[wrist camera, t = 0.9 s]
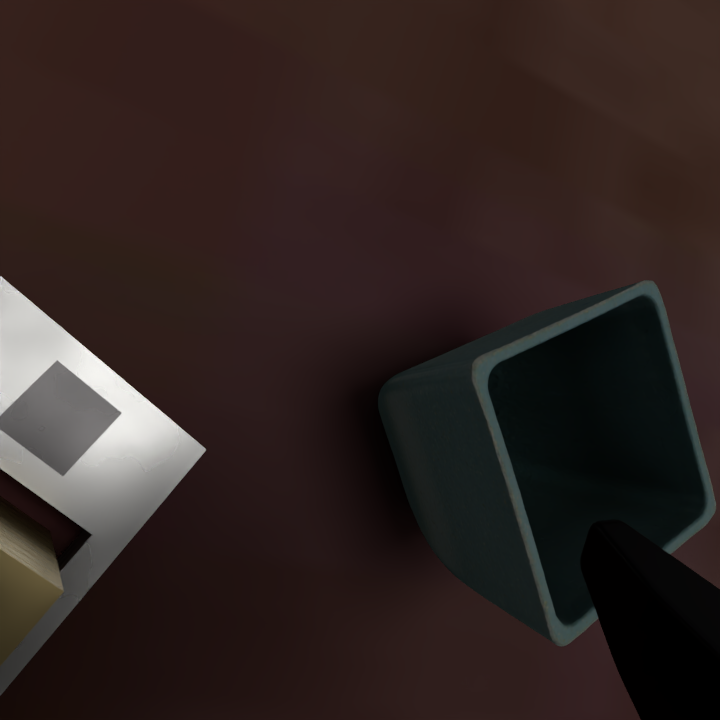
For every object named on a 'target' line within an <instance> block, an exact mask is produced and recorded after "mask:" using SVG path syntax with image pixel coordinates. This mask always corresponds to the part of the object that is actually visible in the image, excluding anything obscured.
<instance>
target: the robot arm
mask: <svg viewBox="0 0 720 720" xmlns="http://www.w3.org/2000/svg"><path fill="white" fill-rule="evenodd" d="M580 565H581V571H582V574H583V577H584V580H585V583H586V585H587V588H588V591H589V594H590V596H591V599H592V602H593V605H594V607H595V610H596V613H597V616H598V618H599V621H600V624H601V627H602V629H603V632H604V635H605V638H606V640H607V643H608V646H609V649H610V652H611V654H612V657H613V659H614V662H615V664H616V667H617V670H618V672H619V674H620V676H621V678H622V681H623V683H624V685H625V687H626V689H627V691H628V694H629V696H630V698H631V700H632V702H633V704H634V706H635V708H636V710H637V712H638V714H639V716H640V719H641V720H720V589H718V588H717V587H716V586H714V585H713V584H711V583H710V582H709V581H707V580H706V579H704V578H703V577H701V576H700V575H699V574H697V573H696V572H694V571H693V570H692V569H690V568H689V567H687V566H686V565H684V564H683V563H682V562H680V561H679V560H677V559H676V558H674V557H673V556H672V555H670V554H669V553H667V552H666V551H665V550H663V549H662V548H660V547H659V546H657V545H656V544H655V543H653V542H652V541H650V540H649V539H647V538H646V537H645V536H643V535H642V534H640V533H639V532H638V531H636V530H635V529H633V528H632V527H630V526H629V525H628V524H626V523H625V522H623V521H621V520H617V519H611V520H602V521H596V522H593V523H592V524H591V525H590V528H589V531H588V534H587V537H586V540H585V544H584V547H583V550H582V553H581V558H580Z"/></svg>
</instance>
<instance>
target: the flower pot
mask: <svg viewBox="0 0 720 720" xmlns="http://www.w3.org/2000/svg"><path fill="white" fill-rule="evenodd" d="M378 410H379V413H380V416H381V420H382V423H383V426H384V429H385V432H386V435H387V438H388V441H389V444H390V447H391V450H392V452H393V455H394V458H395V461H396V465H397V468H398V471H399V474H400V477H401V480H402V484H403V487H404V490H405V493H406V496H407V499H408V502H409V504H410V507H411V509H412V511H413V514H414V516H415V518H416V521H417V523H418V525H419V527H420V529H421V531H422V533H423V535H424V537H425V539H426V540H427V542H428V544H429V545H430V547H431V548H432V550H433V551H434V553H435V554H436V555H437V556H438V558H439V559H440V560H441V562H442V563H443V564H444V565H445V566H446V567H447V568H448V569H449V570H450V571H451V572H452V573H453V574H454V575H455V576H456V577H457V578H458V579H460V580H461V581H462V582H463V583H465V584H466V585H467V586H469V587H470V588H472V589H473V590H474V591H476V592H477V593H479V594H480V595H482V596H483V597H484V598H486V599H487V600H489V601H490V602H492V603H493V604H495V605H497V606H498V607H500V608H501V609H503V610H504V611H506V612H507V613H509V614H510V615H512V616H513V617H515V618H516V619H518V620H519V621H521V622H523V623H524V624H526V625H527V626H529V627H530V628H532V629H533V630H535V631H536V632H538V633H539V634H541V635H542V636H544V637H546V638H547V639H549V640H550V641H552V642H553V643H555V644H556V645H558V646H566V645H567V644H569V643H570V642H571V641H573V640H574V639H575V638H576V637H578V636H579V635H580V634H581V633H583V632H584V631H585V630H586V629H587V628H588V627H589V626H590V625H591V624H592V623H594V622H595V621H596V620H597V619H598V616H597V613H596V610H595V607H594V605H593V602H592V599H591V596H590V594H589V591H588V588H587V585H586V583H585V580H584V577H583V574H582V571H581V565H580V558H581V553H582V550H583V547H584V544H585V540H586V537H587V534H588V531H589V528H590V525H591V524H592V523H593V522H596V521H602V520H611V519H617V520H621V521H623V522H625V523H626V524H628V525H629V526H630V527H632V528H633V529H635V530H636V531H638V532H639V533H640V534H642V535H643V536H645V537H646V538H647V539H649V540H650V541H652V542H653V543H655V544H656V545H657V546H659V547H660V548H662V549H663V550H665V551H666V552H667V553H669V554H671V553H672V552H674V551H675V550H676V549H677V548H679V547H680V546H681V545H682V544H683V543H684V542H686V541H687V540H688V539H689V538H690V537H692V536H693V535H694V534H695V533H697V532H698V531H699V530H701V529H702V528H703V527H704V526H705V525H707V523H708V522H709V520H710V519H711V517H712V516H713V515H714V513H715V510H716V502H715V498H714V493H713V486H712V485H711V480H710V476H709V472H708V469H707V466H706V463H705V459H704V454H703V452H702V448H701V444H700V440H699V437H698V433H697V428H696V424H695V421H694V418H693V414H692V410H691V407H690V402H689V398H688V395H687V391H686V385H685V383H684V379H683V375H682V372H681V368H680V363H679V359H678V355H677V351H676V348H675V345H674V341H673V338H672V334H671V330H670V325H669V321H668V317H667V313H666V309H665V306H664V303H663V300H662V297H661V295H660V292H659V290H658V287H657V285H656V284H655V283H654V282H653V281H648V280H645V281H642V282H638V283H635V284H632V285H628V286H625V287H621V288H618V289H614V290H611V291H608V292H604V293H601V294H597V295H594V296H591V297H587V298H584V299H581V300H577V301H574V302H571V303H567V304H564V305H561V306H558V307H554V308H551V309H548V310H545V311H542V312H539V313H536V314H534V315H531V316H529V317H526V318H524V319H522V320H520V321H517V322H515V323H513V324H511V325H509V326H506V327H504V328H502V329H500V330H497V331H495V332H493V333H490V334H488V335H486V336H484V337H481V338H479V339H477V340H474V341H472V342H470V343H468V344H465V345H463V346H461V347H458V348H456V349H454V350H451V351H449V352H447V353H445V354H442V355H440V356H438V357H435V358H433V359H431V360H428V361H426V362H424V363H422V364H419V365H417V366H415V367H412V368H410V369H408V370H405V371H403V372H401V373H399V374H397V375H395V376H393V377H392V378H390V379H389V380H388V381H387V382H386V383H385V384H384V385H383V387H382V388H381V390H380V393H379V397H378Z"/></svg>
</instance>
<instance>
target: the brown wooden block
mask: <svg viewBox="0 0 720 720" xmlns="http://www.w3.org/2000/svg"><path fill="white" fill-rule="evenodd" d="M63 592H64V590H63V586H62V581H61V577H60V572H59V568H58V564H57V559H56V555H55V551H54V546H53V542H52V538H51V533H50V531H49V530H48V529H46V528H45V527H43V526H42V525H41V524H39V523H38V522H36V521H35V520H34V519H32V518H31V517H29V516H28V515H26V514H25V513H24V512H22V511H21V510H19V509H18V508H16V507H15V506H14V505H12V504H11V503H9V502H8V501H7V500H5V499H4V498H2V497H1V496H0V666H1V665H2V663H3V662H4V661H5V660H6V659H7V658H8V656H9V655H10V654H11V653H12V652H13V651H14V649H15V648H16V647H17V646H18V645H19V644H20V642H21V641H22V640H23V639H24V638H25V637H26V635H27V634H28V633H29V632H30V631H31V630H32V628H33V627H34V626H35V625H36V624H37V623H38V621H39V620H40V619H41V618H42V617H43V615H44V614H45V613H46V612H47V611H48V610H49V608H50V607H51V606H52V605H53V604H54V603H55V601H56V600H57V599H58V598H59V597H60V596H61V594H62V593H63Z"/></svg>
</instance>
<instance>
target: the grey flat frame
mask: <svg viewBox="0 0 720 720" xmlns="http://www.w3.org/2000/svg"><path fill="white" fill-rule="evenodd" d="M205 451H206V449H205V448H204V447H203V446H202V445H200V444H199V443H198V442H197V441H196V440H194V439H193V438H192V437H191V436H190V435H189V434H187V433H186V432H185V431H184V430H183V429H181V428H180V427H179V426H178V425H177V424H175V423H174V422H173V421H172V420H171V419H170V418H168V417H167V416H166V415H165V414H164V413H162V412H161V411H160V410H159V409H158V408H156V407H155V406H154V405H153V404H152V403H151V402H149V401H148V400H147V399H146V398H145V397H143V396H142V395H141V394H140V393H139V392H137V391H136V390H135V389H134V388H133V387H132V386H130V385H129V384H128V383H127V382H126V381H124V380H123V379H122V378H121V377H120V376H119V375H117V374H116V373H115V372H114V371H113V370H111V369H110V368H109V367H108V366H107V365H105V364H104V363H103V362H102V361H101V360H100V359H98V358H97V357H96V356H95V355H94V354H92V353H91V352H90V351H89V350H88V349H86V348H85V347H84V346H83V345H82V344H81V343H79V342H78V341H77V340H76V339H75V338H73V337H72V336H71V335H70V334H69V333H67V332H66V331H65V330H64V329H63V328H62V327H60V326H59V325H58V324H57V323H56V322H54V321H53V320H52V319H51V318H50V317H48V316H47V315H46V314H45V313H44V312H43V311H41V310H40V309H39V308H38V307H37V306H35V305H34V304H33V303H32V302H31V301H29V300H28V299H27V298H26V297H25V296H24V295H22V294H21V293H20V292H19V291H18V290H16V289H15V288H14V287H13V286H12V285H10V284H9V283H8V282H7V281H6V280H5V279H3V278H2V277H1V276H0V469H2V470H3V471H5V472H6V473H7V474H9V475H10V476H11V477H13V478H14V479H16V480H17V481H18V482H20V483H21V484H23V485H24V486H25V487H27V488H28V489H29V490H31V491H32V492H34V493H35V494H36V495H38V496H39V497H41V498H42V499H43V500H45V501H46V502H48V503H49V504H50V505H52V506H53V507H54V508H56V509H57V510H59V511H60V512H61V513H63V514H64V515H66V516H67V517H68V518H70V519H71V520H72V521H74V522H75V523H77V524H78V525H79V526H81V527H82V528H84V530H83V531H82V532H81V533H80V534H79V535H78V536H77V538H76V539H75V540H74V541H73V542H72V543H71V544H70V546H69V547H68V548H67V549H66V550H65V551H64V552H63V554H62V555H61V556H60V557H59V558H58V559H57V564H58V568H59V572H60V577H61V581H62V586H63V590H64V592H63V593H62V594H61V596H60V597H59V598H58V599H57V600H56V601H55V603H54V604H53V605H52V606H51V607H50V608H49V610H48V611H47V612H46V613H45V614H44V615H43V617H42V618H41V619H40V620H39V621H38V623H37V624H36V625H35V626H34V627H33V628H32V630H31V631H30V632H29V633H28V634H27V635H26V637H25V638H24V639H23V640H22V641H21V642H20V644H19V645H18V646H17V647H16V648H15V649H14V651H13V652H12V653H11V654H10V655H9V656H8V658H7V659H6V660H5V661H4V662H3V663H2V665H1V666H0V695H1V694H2V693H3V692H4V691H5V690H6V688H7V687H8V686H9V685H10V684H11V682H12V681H13V680H14V679H15V678H16V676H17V675H18V674H19V673H20V672H21V670H22V669H23V668H24V667H25V666H26V664H27V663H28V662H29V661H30V660H31V659H32V657H33V656H34V655H35V654H36V653H37V651H38V650H39V649H40V648H41V647H42V645H43V644H44V643H45V642H46V641H47V639H48V638H49V637H50V636H51V635H52V633H53V632H54V631H55V630H56V629H57V627H58V626H59V625H60V624H61V623H62V622H63V620H64V619H65V618H66V617H67V616H68V614H69V613H70V612H71V611H72V610H73V608H74V607H75V606H76V605H77V604H78V602H79V601H80V600H81V599H82V598H83V596H84V595H85V594H86V593H87V592H88V590H89V589H90V588H91V587H92V586H93V585H94V583H95V582H96V581H97V580H98V579H99V577H100V576H101V575H102V574H103V573H104V571H105V570H106V569H107V568H108V567H109V565H110V564H111V563H112V562H113V561H114V559H115V558H116V557H117V556H118V555H119V554H120V552H121V551H122V550H123V549H124V548H125V546H126V545H127V544H128V543H129V542H130V540H131V539H132V538H133V537H134V536H135V534H136V533H137V532H138V531H139V530H140V528H141V527H142V526H143V525H144V524H145V522H146V521H147V520H148V519H149V518H150V517H151V515H152V514H153V513H154V512H155V511H156V509H157V508H158V507H159V506H160V505H161V503H162V502H163V501H164V500H165V499H166V497H167V496H168V495H169V494H170V493H171V491H172V490H173V489H174V488H175V487H176V485H177V484H178V483H179V482H180V481H181V480H182V478H183V477H184V476H185V475H186V474H187V472H188V471H189V470H190V469H191V468H192V466H193V465H194V464H195V463H196V462H197V460H198V459H199V458H200V457H201V456H202V454H203V453H204V452H205Z"/></svg>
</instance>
